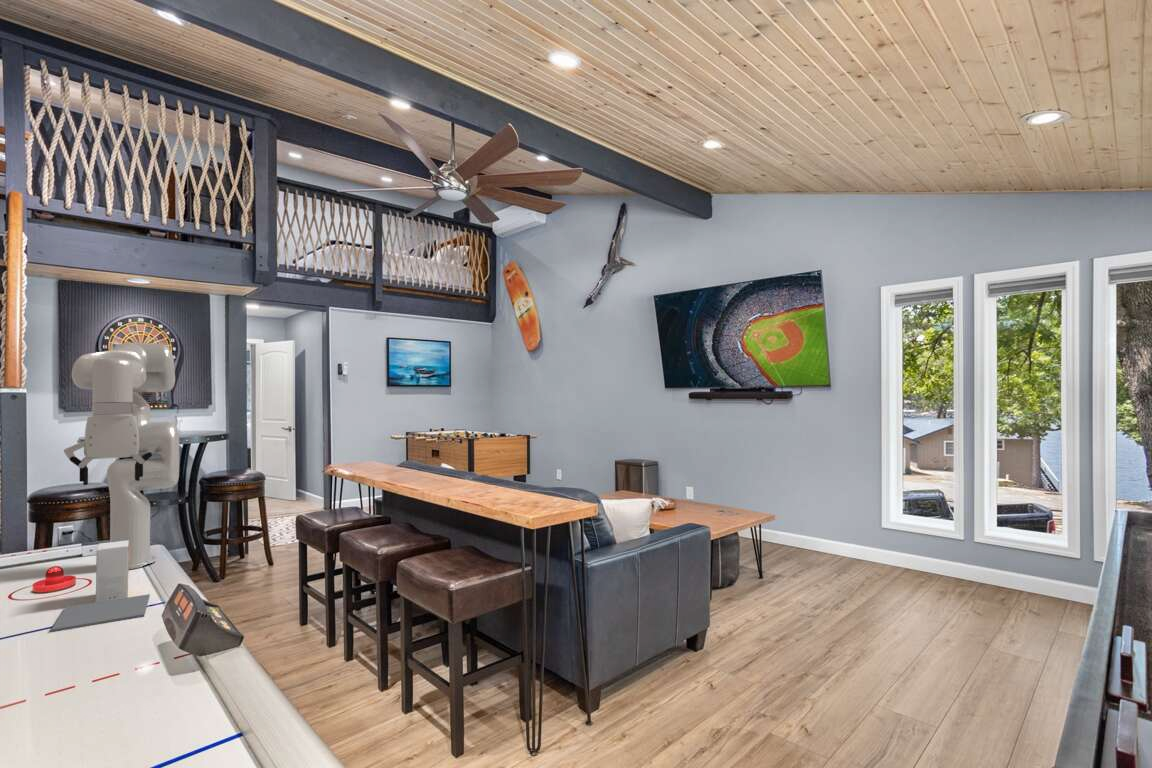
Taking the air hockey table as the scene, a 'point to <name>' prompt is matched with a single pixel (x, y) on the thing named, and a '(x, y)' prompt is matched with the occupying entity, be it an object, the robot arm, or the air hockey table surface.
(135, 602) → the mat
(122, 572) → the small box
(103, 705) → the air hockey table surface
